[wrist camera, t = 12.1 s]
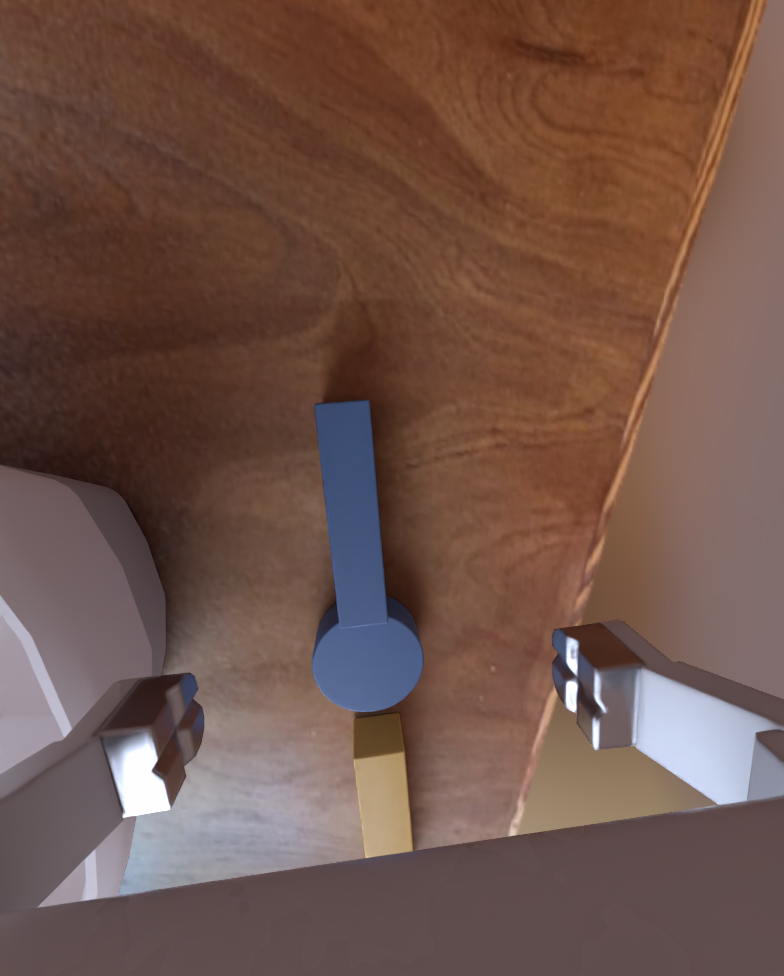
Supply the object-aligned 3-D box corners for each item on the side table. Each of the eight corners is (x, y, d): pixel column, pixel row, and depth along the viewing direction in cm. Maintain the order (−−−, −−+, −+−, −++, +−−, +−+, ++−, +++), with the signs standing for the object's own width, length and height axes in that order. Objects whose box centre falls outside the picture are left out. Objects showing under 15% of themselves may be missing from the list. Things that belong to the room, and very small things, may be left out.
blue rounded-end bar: (285, 406, 17) (271, 407, 14) (401, 397, 17) (410, 396, 14) (322, 688, 20) (316, 737, 17) (420, 676, 20) (430, 722, 17)
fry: (353, 718, 20) (353, 758, 18) (399, 711, 21) (404, 751, 18) (371, 866, 23) (372, 919, 20) (412, 859, 23) (418, 911, 20)
